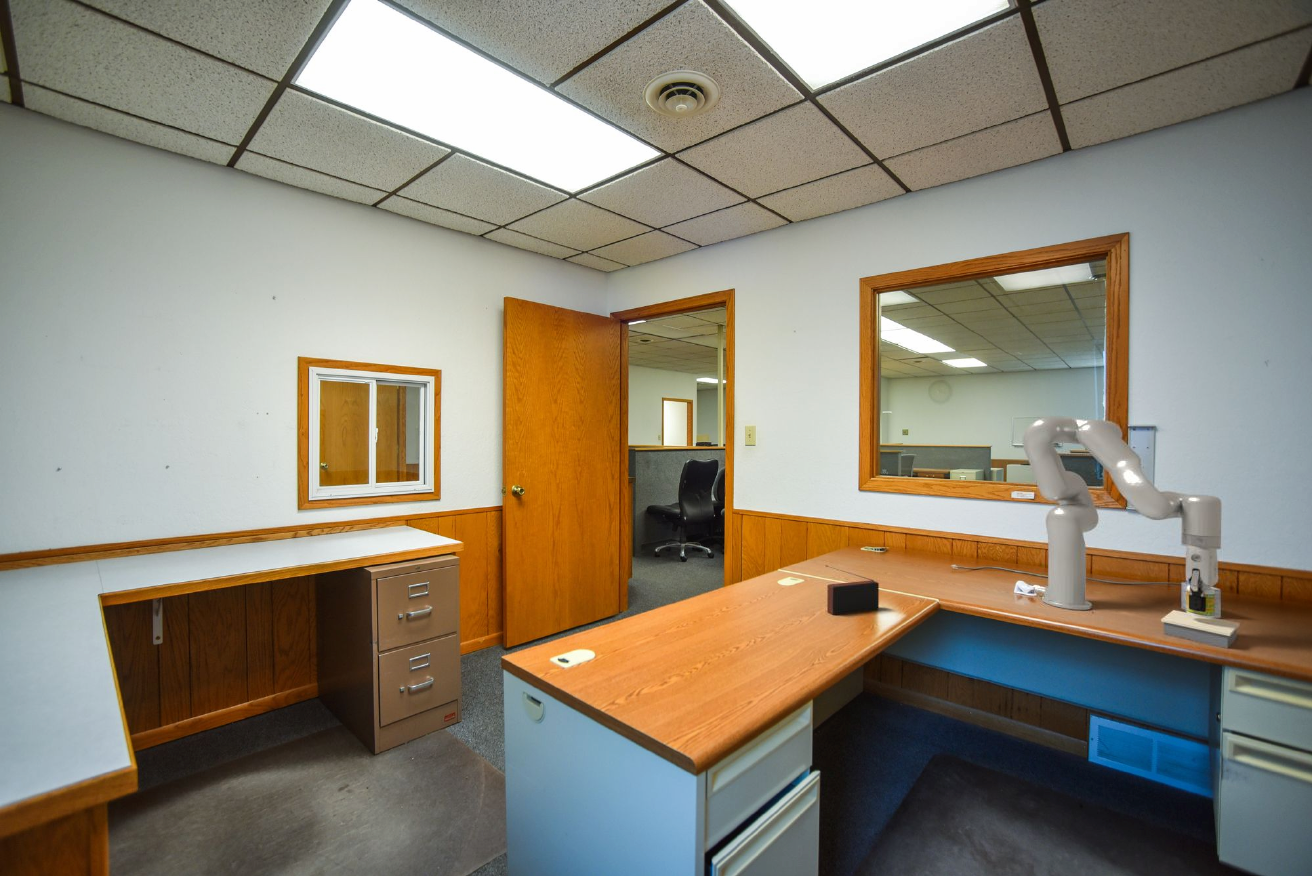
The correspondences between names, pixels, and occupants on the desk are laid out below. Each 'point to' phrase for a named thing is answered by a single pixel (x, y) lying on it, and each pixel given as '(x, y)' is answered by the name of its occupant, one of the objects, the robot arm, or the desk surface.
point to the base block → (1200, 628)
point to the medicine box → (1217, 599)
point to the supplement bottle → (1209, 603)
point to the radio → (852, 596)
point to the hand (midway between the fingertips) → (1199, 607)
